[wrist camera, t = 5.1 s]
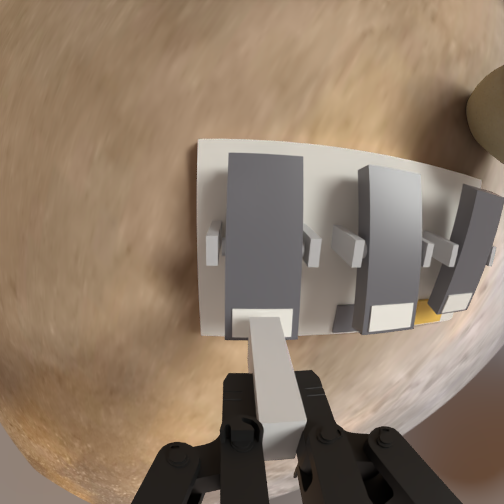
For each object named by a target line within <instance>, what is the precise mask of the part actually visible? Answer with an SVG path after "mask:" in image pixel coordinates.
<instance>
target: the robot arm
mask: <svg viewBox="0 0 504 504" xmlns="http://www.w3.org/2000/svg"><path fill="white" fill-rule="evenodd" d="M248 372H249V373H229V374H228V375H227V377H226V378H225V380H224V381H223V411H222V424H221V428H220V435H219V437H218V438H217V439H216V440H214V441H213V442H211V443H208V444H205V445H200V446H195V447H192V446H191V445H188V444H186V443H182V442H173V443H169V444H167V445H165V446H163V447H162V448H161V450H160V451H159V452H158V454H157V456H156V458H155V460H154V462H153V463H152V465H151V467H150V469H149V471H148V473H147V475H146V477H145V478H144V480H143V482H142V484H141V486H140V488H139V490H138V491H137V493H136V495H135V497H134V499H133V501H132V503H131V504H201V503H202V500H203V497H204V495H205V493H206V492H211V491H215V490H219V489H220V504H269V497H268V489H267V480H266V471H265V462H264V461H269V460H283V459H294V458H295V455H296V453H297V458H298V464H297V467H296V469H295V472H294V478H296V477H297V475H298V480H299V486H300V490H301V496H302V502H303V504H462V503H461V501H460V500H459V499H458V498H457V497H456V496H455V495H454V494H453V493H452V492H451V491H450V489H449V488H448V487H447V486H446V485H445V484H444V483H443V481H442V480H441V479H440V478H439V477H438V476H437V475H436V474H435V473H434V471H433V470H432V469H431V468H430V467H429V466H428V465H427V464H426V462H424V460H423V459H422V458H421V457H420V456H419V455H418V454H417V452H416V451H415V450H414V449H413V448H412V447H411V446H410V444H409V443H408V442H407V441H406V440H405V439H404V438H403V437H402V435H401V434H400V433H399V432H398V431H396V430H395V429H394V428H391V427H384V426H381V427H378V428H375V429H374V430H373V431H371V433H370V434H359V433H351V432H347V431H345V430H343V428H342V427H340V426H339V425H337V424H336V422H335V420H334V417H333V414H332V412H331V409H330V406H329V403H328V400H327V398H326V395H325V392H324V389H323V388H322V384H321V381H320V378H319V377H318V376H317V375H316V374H315V373H314V372H313V371H312V370H306V371H294V369H293V366H292V362H291V358H290V355H289V351H288V347H287V344H286V340H285V336H284V333H283V329H282V325H281V322H280V318H279V317H249V336H248Z"/></svg>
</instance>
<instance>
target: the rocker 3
mask: <svg viewBox="0 0 504 504" xmlns="http://www.w3.org/2000/svg"><path fill="white" fill-rule="evenodd" d="M503 204H504V197H501V196H499V195H497V194H495V193H493V192H491V191H487V190H484V189H481V188H477V187H474V186H470V185H467V184H463V186H462V191H461V196H460V201H459V205H458V210H457V214H456V218H455V222H454V226H453V229H452V233H451V237H450V240H449V241H451V242H454V243H456V244H458V245H459V247H458V252H457V256H456V261H455V265H454V267H448V266H446V265H445V264H443V263H442V265H441V268H440V271H439V274H438V277H437V280H436V282H435V285H434V288H433V290H432V293H431V295H430V298H429V300H428V303H427V304H428V305H429V306H430V307H431V308H432V310H433V311H434V312H435V313H436V314H437V315H439V314H445V313H452V312H458V311H464V310H467V308H468V306H469V304H470V302H471V299H472V297H473V295H474V293H475V290H476V288H477V286H478V283H479V281H480V278H481V276H482V273H483V271H484V268H485V265H486V262H487V260H488V257H489V254H490V251H491V248H492V245H493V242H494V238H495V235H496V231H497V228H498V224H499V221H500V217H501V213H502V209H503Z"/></svg>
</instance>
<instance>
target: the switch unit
mask: <svg viewBox="0 0 504 504" xmlns="http://www.w3.org/2000/svg"><path fill="white" fill-rule="evenodd" d="M229 153H259V154H277V155H291V156H303V240H304V244H305V252H304V256H303V257H302V275H301V295H300V312H299V327H298V336H304V335H324V334H340V333H352V332H357V331H356V330H355V329H354V328H352V321H353V311H354V301H355V289H356V275H357V267H361V263H362V257H363V251H364V245H365V240H364V239H362V238H361V237H359V236H358V215H359V208H358V170H359V169H361V168H363V167H365V166H367V165H376V166H382V167H388V168H393V169H399V170H404V171H409V172H414V173H419V174H420V175H421V190H422V254H421V271H420V282H419V292H418V301H417V309H416V316H415V322H414V326H415V325H422V324H429V323H435V322H441V321H447V320H451V318H452V316H453V313H454V312H452V313H445V314H439V315H437V314H436V313H435V312H434V311H433V310H432V308H431V307H430V306H429V305H428V304H427V303H428V300H429V298H430V295H431V293H432V290H433V288H434V285H435V282H436V280H437V277H438V274H439V271H440V268H441V265H442V263H443V264H445V265H446V266H448V267H454V265H455V261H456V256H457V252H458V247H459V245H458V244H456V243H454V242H451V241H449V240H450V237H451V233H452V229H453V226H454V222H455V218H456V214H457V210H458V205H459V201H460V196H461V191H462V186H463V184H467V185H470V186H474V187H477V188H481V184H482V180H480V179H477V178H474V177H471V176H468V175H465V174H461V173H458V172H455V171H451V170H448V169H444V168H440V167H436V166H432V165H428V164H424V163H420V162H416V161H412V160H407V159H403V158H398V157H393V156H388V155H383V154H377V153H372V152H366V151H360V150H353V149H347V148H339V147H332V146H324V145H315V144H306V143H295V142H283V141H268V140H246V139H198V156H197V261H198V289H199V309H200V327H201V336H225V256H222V237H226V209H227V179H228V155H229ZM495 252H496V247H494V246H492V248H491V251H490V254H489V257H488V260H487V262H486V265H487V266H492V264H493V260H494V256H495Z"/></svg>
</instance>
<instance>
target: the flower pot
mask: <svg viewBox="0 0 504 504" xmlns="http://www.w3.org/2000/svg"><path fill="white" fill-rule="evenodd" d="M466 115H467V121H468V125H469V128H470V131H471V133H472V135H473V137H474V138H475V140H476V141H477V142H478V143H479V144H480V145H481V146H482V147H483V148H484V149H485V150H486V151H487V152H489V153H490V154H491V155H492V156H494V157H495V158H496V159H497V160H499V161H500V162H501V163H503V164H504V65H503V66H501V67H499V68H497V69H496V70H494V71H493V72H491V73H490V74H489V75H487V76H486V77H485V78H484V79H483V80H482V81H481V82H480V83H479V84H478V86H477V87H476V88H475V90H474V91H473V93H472V94H471V96H470V98H469V100H468V102H467V107H466Z"/></svg>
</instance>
